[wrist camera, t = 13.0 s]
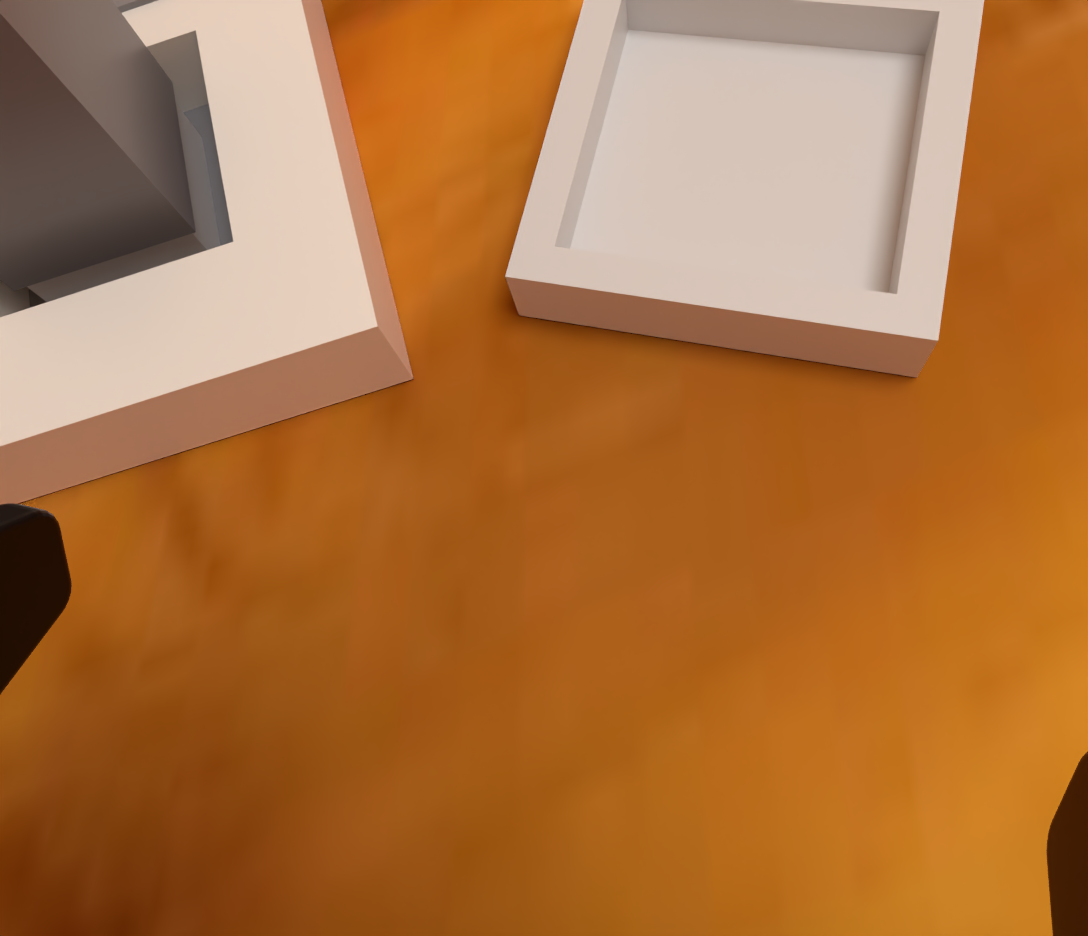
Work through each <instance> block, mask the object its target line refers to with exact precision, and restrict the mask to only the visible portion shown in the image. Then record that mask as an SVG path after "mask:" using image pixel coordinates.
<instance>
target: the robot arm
mask: <svg viewBox="0 0 1088 936" xmlns="http://www.w3.org/2000/svg"><path fill="white" fill-rule="evenodd" d="M70 594H71V578H70V573H69V568H68V563H67V559H66V554H65V549H64V544H63V540H62V535H61V530H60V526H59V523H58V521H57V520H56V518H55V517H54V516H53V514H51V513H49V512H48V511H46V510H42V509H38V508H34V507H29V506H25V505H20V504H15V503H7V504H1V505H0V694H1V693H2V691H3V690H4V689H5V687H6V686H7V685H8V683H9V682H10V681H11V679H12V678H13V677H14V675H15V674H16V673H17V671H18V670H19V669H20V667H21V666H22V665H23V663H24V662H25V661H26V659H27V658H28V657H29V656H30V654H31V653H32V652H33V650H34V649H35V648H36V646H37V645H38V644H39V642H40V641H41V640H42V638H43V637H44V636H45V634H46V633H47V632H48V630H49V629H50V628H51V626H52V625H53V624H54V622H55V621H56V620H57V618H58V617H59V616H60V614H61V613H62V612H63V610H64V609H65V607H66V605H67V603H68V601H69V597H70ZM1047 866H1048V878H1049V891H1050V904H1051V917H1052V930H1053V936H1088V752H1087V753H1086V754H1085V755H1084V756H1083V757H1082V758H1081V760H1080V762H1079V763H1078V766H1077V768H1076V770H1075V772H1074V774H1073V777H1072V779H1071V781H1070V783H1069V785H1068V787H1067V790H1066V792H1065V794H1064V796H1063V798H1062V801H1061V803H1060V805H1059V807H1058V809H1057V811H1056V814H1055V816H1054V818H1053V820H1052V823H1051V825H1050V829H1049V833H1048V840H1047Z"/></svg>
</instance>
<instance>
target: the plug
mask: <svg viewBox="0 0 1088 936" xmlns="http://www.w3.org/2000/svg"><path fill="white" fill-rule="evenodd" d="M219 246H220V241H219V235H218V229H217V223H216V217H215V211H214V205H213V199H212V193H211V187H210V181H209V175H208V169H207V163H206V157H205V151H204V145H203V139H202V137H201V136H200V134H199V133H198V132H197V130H196V129H195V128H194V126H193V125H192V124H191V122H190V121H189V120H188V118H187V117H186V116H185V114H184V113H183V112H182V110H181V109H180V108H179V106H178V105H177V104H176V102H175V95H174V89H173V83H172V81H171V80H170V78H169V77H168V76H167V74H166V73H165V72H164V70H163V69H162V68H161V66H160V65H159V64H158V62H157V61H156V59H155V58H154V57H153V55H152V54H151V53H150V51H149V50H148V49H147V47H146V46H145V45H144V43H143V42H142V40H141V39H140V38H139V36H138V35H137V34H136V32H135V31H134V30H133V28H132V27H131V26H130V24H129V23H128V21H127V20H126V19H125V17H124V16H123V15H122V13H121V12H120V11H119V9H118V8H117V6H116V5H115V4H114V2H113V1H112V0H0V281H1V282H2V283H4V284H5V285H6V286H8V287H9V288H10V289H12V290H13V291H15V290H18V289H21V288H24V287H28V288H29V289H30V290H32V291H33V292H34V293H36V294H37V295H38V296H40V297H41V298H42V299H44V300H45V301H46V302H49V301H53V300H56V299H59V298H62V297H65V296H68V295H71V294H74V293H77V292H80V291H83V290H86V289H89V288H93V287H96V286H99V285H102V284H105V283H108V282H111V281H114V280H117V279H120V278H123V277H126V276H129V275H133V274H136V273H139V272H142V271H145V270H148V269H151V268H154V267H157V266H160V265H163V264H166V263H169V262H172V261H176V260H179V259H182V258H185V257H188V256H191V255H194V254H197V253H200V252H203V251H206V250H209V249H212V248H216V247H219Z"/></svg>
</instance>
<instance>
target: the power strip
mask: <svg viewBox="0 0 1088 936" xmlns="http://www.w3.org/2000/svg"><path fill="white" fill-rule="evenodd" d="M112 1H113V2H114V4H115V5H116V6H117V8H118V9H119V11H120V12H121V13H122V15H123V16H124V17H125V19H126V20H127V21H128V23H129V24H130V26H131V27H132V28H133V30H134V31H135V32H136V34H137V35H138V36H139V38H140V39H141V40H142V42H143V43H144V45H145V46H146V47H147V49H148V50H149V51H150V53H151V54H152V55H153V57H154V58H155V59H156V61H157V62H158V64H159V65H160V66H161V68H162V69H163V70H164V72H165V73H166V74H167V76H168V77H169V78H170V80H171V81H172V83H173V89H174V95H175V102H176V104H177V105H178V106H179V108H180V109H181V110H182V112H183V113H184V114H185V116H186V117H187V118H188V120H189V121H190V122H191V124H192V125H193V126H194V128H195V129H196V130H197V132H198V133H199V134H200V136H201V137H202V139H203V145H204V151H205V157H206V163H207V169H208V175H209V181H210V187H211V193H212V199H213V205H214V211H215V217H216V223H217V229H218V235H219V241H220V246H219V247H216V248H212V249H209V250H206V251H203V252H200V253H197V254H194V255H191V256H188V257H185V258H182V259H179V260H176V261H172V262H169V263H166V264H163V265H160V266H157V267H154V268H151V269H148V270H145V271H142V272H139V273H136V274H133V275H129V276H126V277H123V278H120V279H117V280H114V281H111V282H108V283H105V284H102V285H99V286H96V287H93V288H89V289H86V290H83V291H80V292H77V293H74V294H71V295H68V296H65V297H62V298H59V299H56V300H53V301H49V302H46V301H45V300H44V299H42V298H41V297H40V296H38V295H37V294H36V293H34V292H33V291H32V290H30V289H29V288H28V287H24V288H21V289H18V290H15V291H13V290H12V289H10V288H9V287H8V286H6V285H5V284H4V283H2V282H1V281H0V505H1V504H7V503H15V504H18V503H21V502H24V501H27V500H30V499H33V498H37V497H40V496H43V495H46V494H49V493H53V492H56V491H59V490H62V489H65V488H68V487H72V486H75V485H78V484H81V483H84V482H87V481H91V480H94V479H97V478H100V477H103V476H107V475H110V474H113V473H116V472H119V471H122V470H126V469H129V468H132V467H135V466H138V465H142V464H145V463H148V462H151V461H154V460H157V459H161V458H164V457H167V456H170V455H173V454H176V453H180V452H183V451H186V450H189V449H192V448H196V447H199V446H202V445H205V444H208V443H211V442H215V441H218V440H221V439H224V438H227V437H231V436H234V435H237V434H240V433H243V432H246V431H250V430H253V429H256V428H259V427H262V426H265V425H269V424H272V423H275V422H278V421H281V420H285V419H288V418H291V417H294V416H297V415H300V414H304V413H307V412H310V411H313V410H316V409H320V408H323V407H326V406H329V405H332V404H335V403H339V402H342V401H345V400H348V399H351V398H354V397H358V396H361V395H364V394H367V393H370V392H374V391H377V390H380V389H383V388H386V387H389V386H393V385H396V384H399V383H402V382H405V381H409V380H412V379H413V375H412V371H411V367H410V363H409V359H408V354H407V350H406V346H405V342H404V338H403V334H402V330H401V326H400V322H399V318H398V314H397V309H396V305H395V301H394V297H393V293H392V289H391V285H390V281H389V277H388V273H387V269H386V264H385V260H384V256H383V252H382V248H381V244H380V240H379V236H378V232H377V228H376V224H375V219H374V215H373V211H372V207H371V203H370V199H369V195H368V191H367V187H366V183H365V179H364V174H363V170H362V166H361V162H360V158H359V154H358V150H357V146H356V142H355V138H354V133H353V129H352V125H351V121H350V117H349V113H348V109H347V105H346V101H345V97H344V93H343V88H342V84H341V80H340V76H339V72H338V68H337V64H336V60H335V56H334V52H333V48H332V43H331V39H330V35H329V31H328V27H327V23H326V19H325V15H324V11H323V7H322V3H321V0H112Z"/></svg>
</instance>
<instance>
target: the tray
mask: <svg viewBox="0 0 1088 936" xmlns="http://www.w3.org/2000/svg"><path fill="white" fill-rule="evenodd" d="M983 5H984V0H584V2H583V6H582V9H581V13H580V16H579V20H578V23H577V27H576V30H575V34H574V37H573V41H572V44H571V48H570V51H569V55H568V58H567V62H566V65H565V69H564V72H563V76H562V79H561V83H560V86H559V90H558V93H557V97H556V100H555V104H554V107H553V111H552V114H551V118H550V121H549V125H548V128H547V132H546V135H545V139H544V142H543V146H542V149H541V153H540V156H539V160H538V163H537V167H536V170H535V174H534V177H533V181H532V184H531V188H530V191H529V195H528V198H527V202H526V205H525V209H524V212H523V216H522V219H521V223H520V226H519V230H518V233H517V237H516V240H515V244H514V247H513V251H512V254H511V258H510V261H509V265H508V268H507V272H506V275H505V278H506V280H507V283H508V286H509V289H510V292H511V294H512V297H513V300H514V303H515V305H516V308H517V311H518V314H519V315H520V316H527V317H533V318H539V319H546V320H552V321H558V322H565V323H571V324H578V325H584V326H590V327H597V328H603V329H610V330H616V331H622V332H629V333H635V334H641V335H648V336H654V337H661V338H667V339H673V340H680V341H686V342H693V343H699V344H705V345H712V346H718V347H725V348H731V349H737V350H744V351H750V352H756V353H763V354H769V355H776V356H782V357H788V358H795V359H801V360H808V361H814V362H820V363H827V364H833V365H839V366H846V367H852V368H859V369H865V370H871V371H878V372H884V373H891V374H897V375H903V376H910V377H916V378H917V376H918V375H919V373H920V371H921V370H922V368H923V366H924V364H925V363H926V361H927V359H928V357H929V356H930V354H931V352H932V350H933V349H934V347H935V345H936V343H937V342H938V337H939V330H940V323H941V315H942V308H943V301H944V293H945V286H946V278H947V271H948V264H949V256H950V249H951V241H952V234H953V227H954V219H955V212H956V204H957V197H958V190H959V182H960V175H961V168H962V160H963V153H964V145H965V138H966V131H967V123H968V116H969V108H970V101H971V94H972V86H973V79H974V72H975V64H976V57H977V49H978V42H979V35H980V27H981V20H982V12H983Z"/></svg>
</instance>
